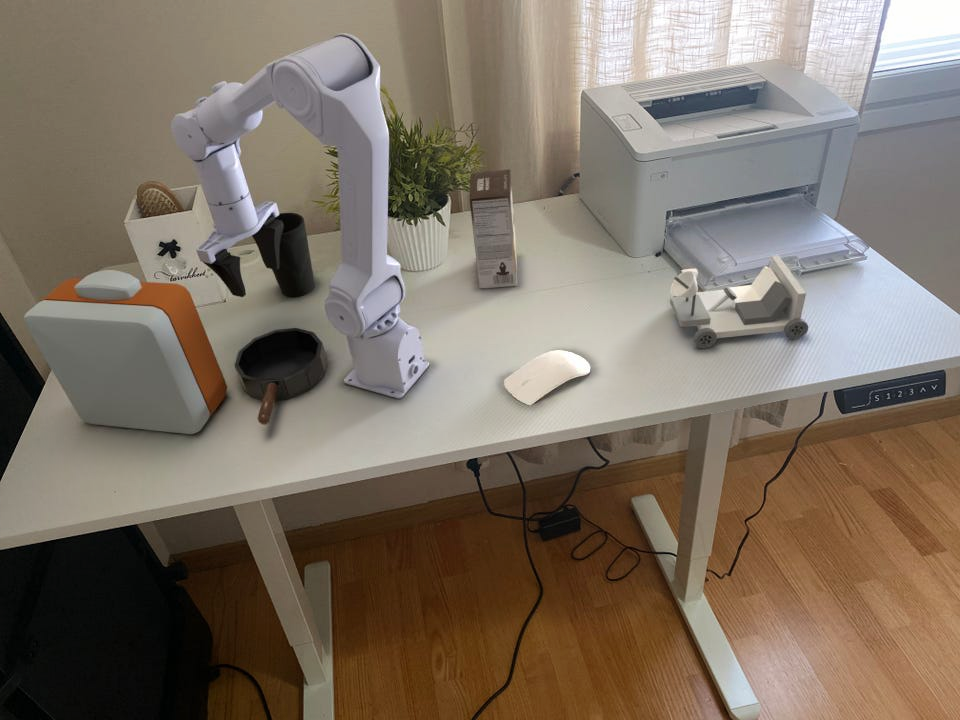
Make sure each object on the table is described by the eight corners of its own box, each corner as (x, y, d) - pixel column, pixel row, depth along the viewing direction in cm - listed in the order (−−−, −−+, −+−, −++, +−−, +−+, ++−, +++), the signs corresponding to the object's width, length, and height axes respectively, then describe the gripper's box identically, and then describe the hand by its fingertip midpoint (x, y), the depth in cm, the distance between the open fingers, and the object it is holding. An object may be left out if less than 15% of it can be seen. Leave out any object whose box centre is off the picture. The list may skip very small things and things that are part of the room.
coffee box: (479, 260, 125) (469, 171, 115) (516, 257, 124) (510, 167, 114) (478, 289, 117) (468, 197, 107) (518, 287, 117) (512, 194, 107)
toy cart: (680, 291, 95) (658, 247, 104) (674, 351, 101) (654, 304, 110) (820, 277, 94) (786, 233, 103) (806, 338, 100) (775, 292, 110)
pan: (251, 351, 110) (244, 332, 108) (331, 343, 110) (325, 324, 108) (222, 443, 95) (214, 423, 92) (315, 433, 95) (308, 413, 92)
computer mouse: (497, 382, 99) (496, 368, 98) (569, 348, 104) (568, 335, 102) (526, 408, 94) (525, 395, 93) (599, 372, 99) (599, 358, 97)
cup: (311, 301, 119) (292, 236, 112) (267, 300, 121) (246, 235, 113) (327, 276, 125) (311, 212, 118) (286, 275, 127) (267, 212, 119)
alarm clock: (232, 393, 102) (182, 267, 90) (201, 437, 96) (141, 308, 83) (119, 383, 107) (55, 261, 94) (81, 425, 100) (7, 300, 87)
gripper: (241, 170, 106) (267, 252, 114) (167, 216, 96) (201, 302, 104) (279, 175, 103) (303, 259, 111) (207, 223, 93) (239, 311, 102)
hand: (256, 281), depth 108 cm, fingers open, 7 cm apart
